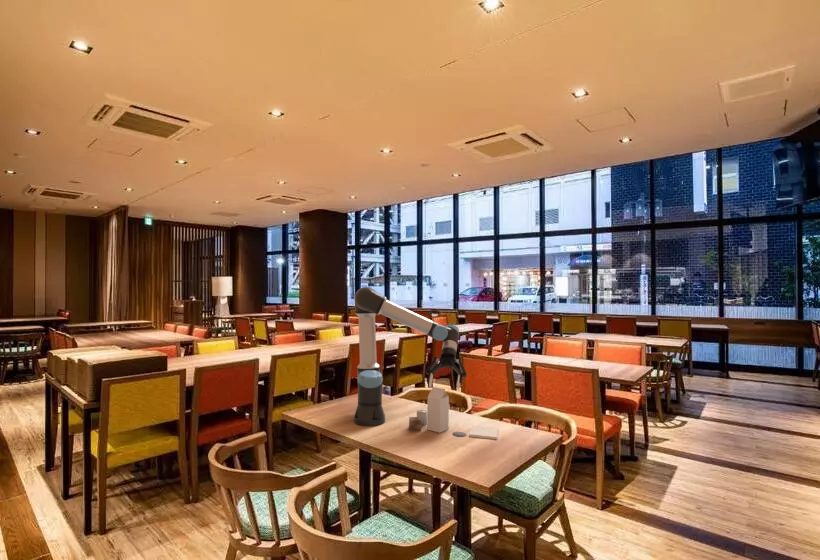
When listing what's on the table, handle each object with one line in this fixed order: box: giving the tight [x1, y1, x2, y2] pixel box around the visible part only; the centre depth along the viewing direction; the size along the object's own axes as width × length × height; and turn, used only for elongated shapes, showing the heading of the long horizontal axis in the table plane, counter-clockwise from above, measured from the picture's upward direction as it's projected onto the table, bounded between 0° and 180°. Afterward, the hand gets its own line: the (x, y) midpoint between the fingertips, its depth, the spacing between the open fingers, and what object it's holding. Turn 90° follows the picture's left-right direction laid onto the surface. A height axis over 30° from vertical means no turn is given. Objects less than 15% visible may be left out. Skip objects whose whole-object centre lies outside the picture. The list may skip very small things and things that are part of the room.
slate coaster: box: [452, 431, 467, 438], centre depth 191 cm, size 6×6×1 cm
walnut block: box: [408, 416, 422, 432], centre depth 197 cm, size 5×5×5 cm
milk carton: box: [426, 386, 450, 434], centre depth 197 cm, size 7×7×19 cm
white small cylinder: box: [416, 409, 427, 427], centre depth 205 cm, size 5×5×6 cm
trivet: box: [469, 425, 500, 440], centre depth 193 cm, size 12×12×1 cm
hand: (443, 387), depth 206 cm, fingers open, 13 cm apart
